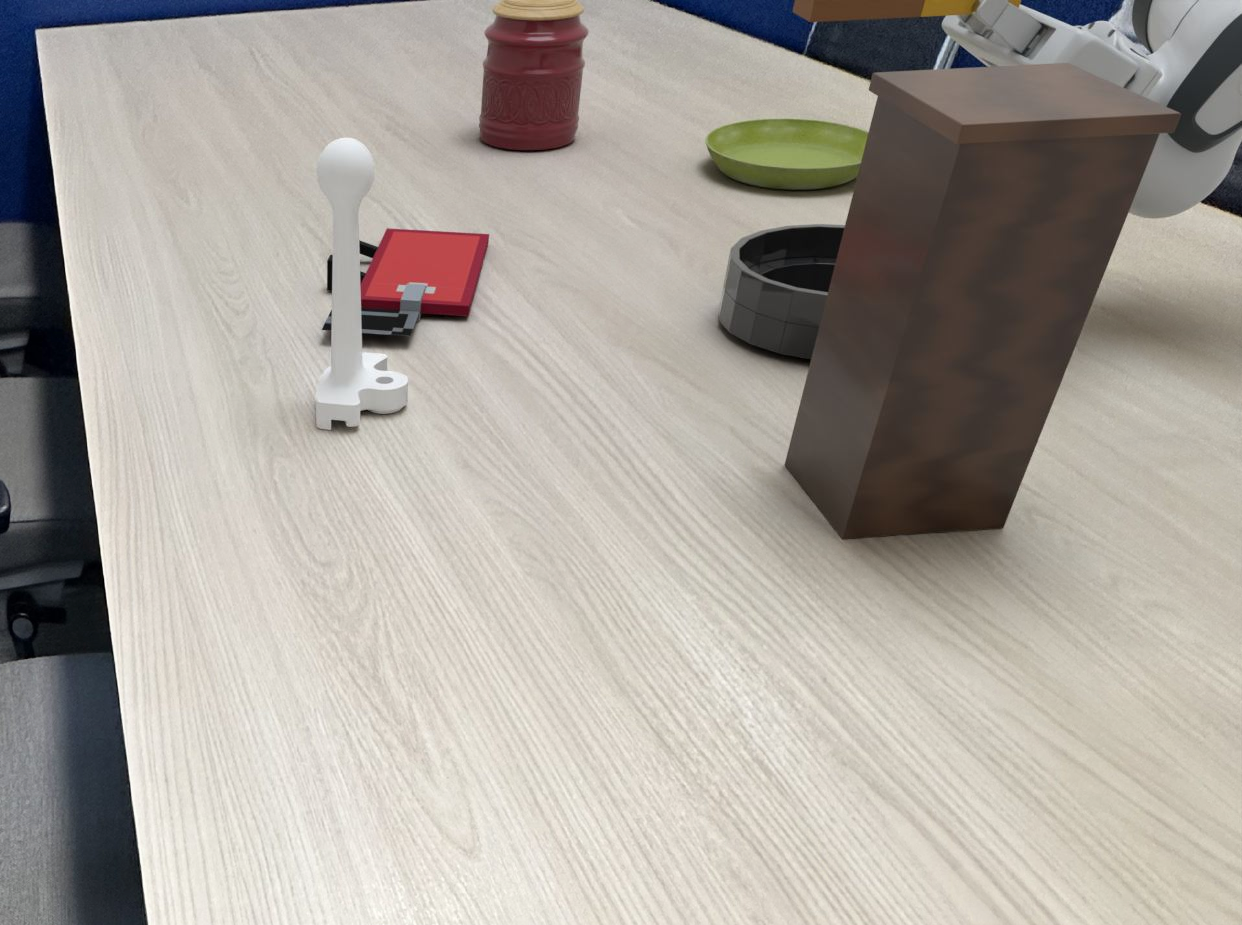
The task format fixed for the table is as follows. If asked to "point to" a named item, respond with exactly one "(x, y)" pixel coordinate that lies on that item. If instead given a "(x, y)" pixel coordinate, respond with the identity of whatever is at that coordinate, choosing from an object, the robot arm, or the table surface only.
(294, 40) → the table surface
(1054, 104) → the stand
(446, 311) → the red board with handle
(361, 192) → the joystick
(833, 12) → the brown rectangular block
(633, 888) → the table surface
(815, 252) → the bowl
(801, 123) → the saucer
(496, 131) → the kitchen canister
